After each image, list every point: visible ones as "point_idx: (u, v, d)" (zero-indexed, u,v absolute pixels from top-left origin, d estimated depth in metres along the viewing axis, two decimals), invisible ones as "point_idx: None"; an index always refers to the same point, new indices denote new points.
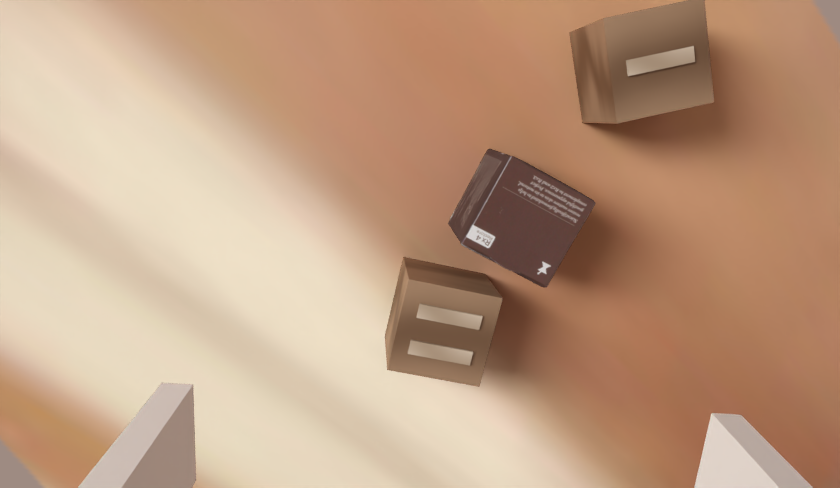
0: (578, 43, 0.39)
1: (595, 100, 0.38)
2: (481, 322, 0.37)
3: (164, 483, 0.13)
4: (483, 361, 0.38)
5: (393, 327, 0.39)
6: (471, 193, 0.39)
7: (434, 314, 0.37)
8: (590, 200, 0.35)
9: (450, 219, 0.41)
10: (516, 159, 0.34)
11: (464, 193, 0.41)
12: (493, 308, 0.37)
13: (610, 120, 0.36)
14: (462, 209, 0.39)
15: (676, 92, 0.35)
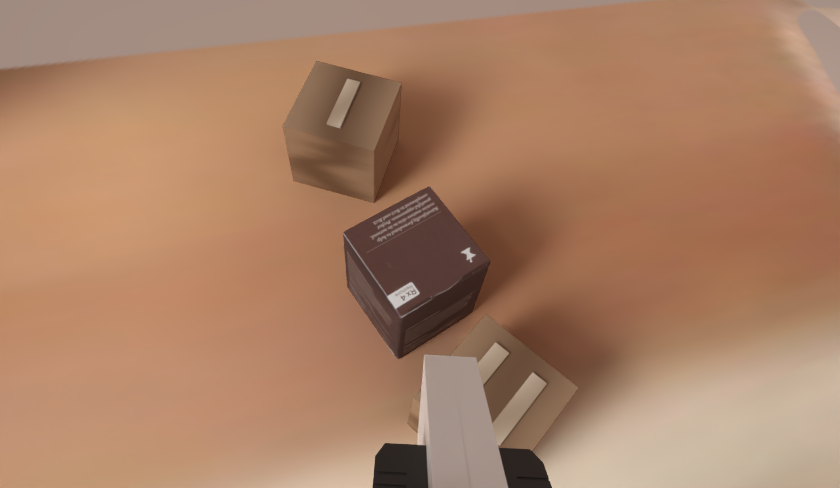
0: (303, 172, 0.41)
1: (353, 172, 0.40)
2: (502, 347, 0.31)
3: None
4: (549, 368, 0.31)
5: None
6: (371, 308, 0.35)
7: None
8: (424, 189, 0.34)
9: (393, 352, 0.36)
10: (348, 230, 0.33)
11: (375, 325, 0.37)
12: (492, 328, 0.32)
13: (371, 158, 0.38)
14: (382, 324, 0.35)
15: (376, 102, 0.39)
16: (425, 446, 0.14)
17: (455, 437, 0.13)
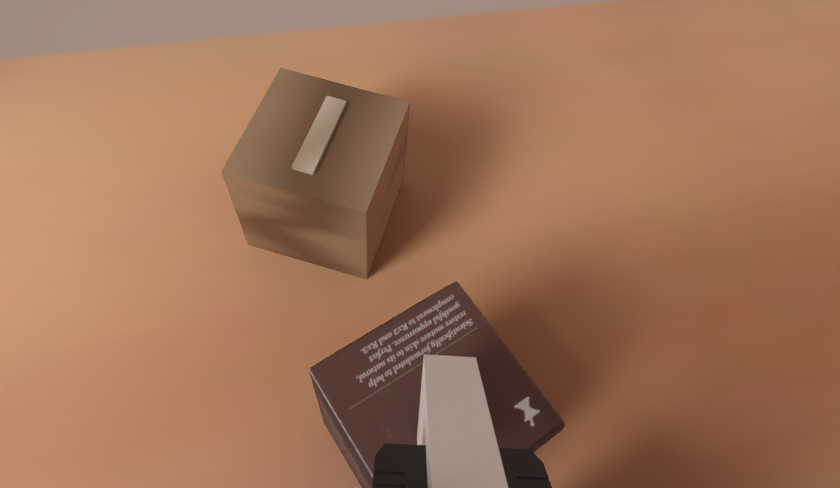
0: (260, 234, 0.27)
1: (335, 240, 0.26)
2: None
3: None
4: None
5: None
6: (359, 477, 0.21)
7: None
8: (449, 286, 0.21)
9: None
10: (319, 364, 0.19)
11: None
12: None
13: (361, 223, 0.24)
14: None
15: (370, 133, 0.25)
16: (425, 445, 0.14)
17: (455, 437, 0.13)
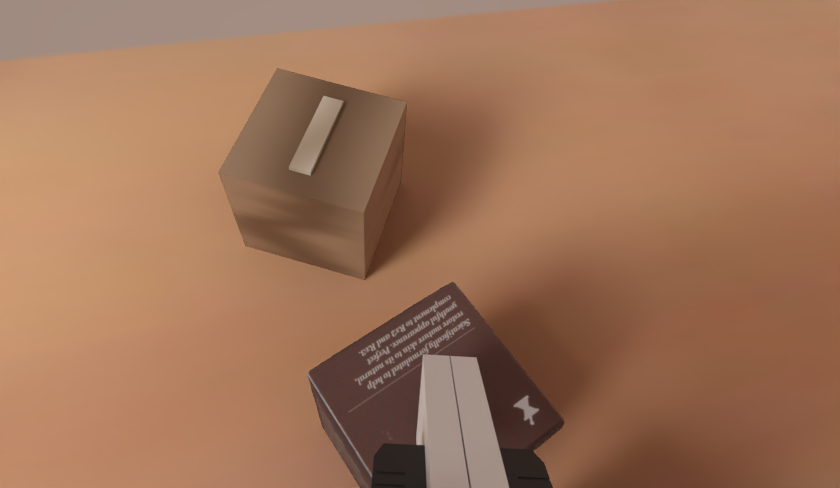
0: (257, 235, 0.27)
1: (333, 240, 0.26)
2: None
3: None
4: None
5: None
6: (359, 481, 0.21)
7: None
8: (445, 287, 0.20)
9: None
10: (317, 367, 0.19)
11: None
12: None
13: (359, 223, 0.24)
14: None
15: (367, 133, 0.25)
16: (424, 445, 0.14)
17: (456, 437, 0.13)
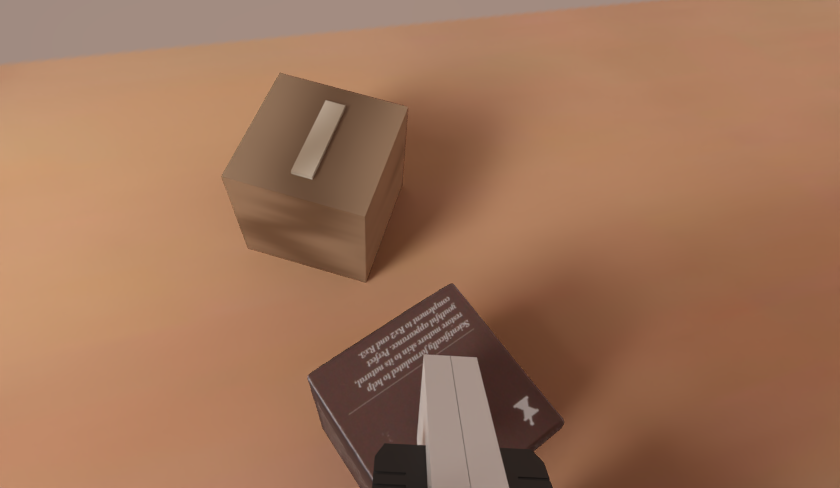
0: (260, 238, 0.28)
1: (334, 244, 0.26)
2: None
3: None
4: None
5: None
6: (360, 482, 0.21)
7: None
8: (444, 288, 0.21)
9: None
10: (317, 370, 0.19)
11: None
12: None
13: (360, 227, 0.24)
14: None
15: (369, 137, 0.25)
16: (425, 446, 0.14)
17: (456, 437, 0.13)
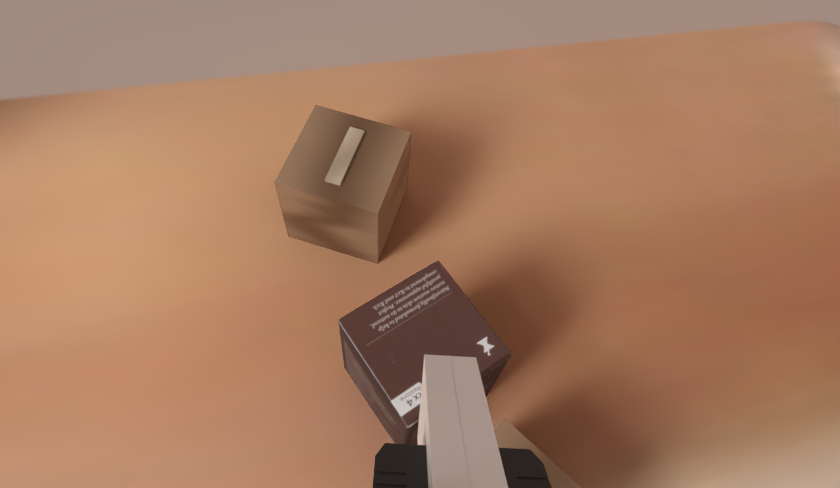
0: (298, 228, 0.37)
1: (354, 233, 0.35)
2: None
3: None
4: None
5: None
6: (372, 400, 0.30)
7: None
8: (433, 264, 0.29)
9: None
10: (344, 317, 0.28)
11: (376, 415, 0.32)
12: (512, 437, 0.27)
13: (374, 221, 0.33)
14: (385, 420, 0.30)
15: (381, 155, 0.34)
16: (425, 445, 0.14)
17: (455, 437, 0.13)
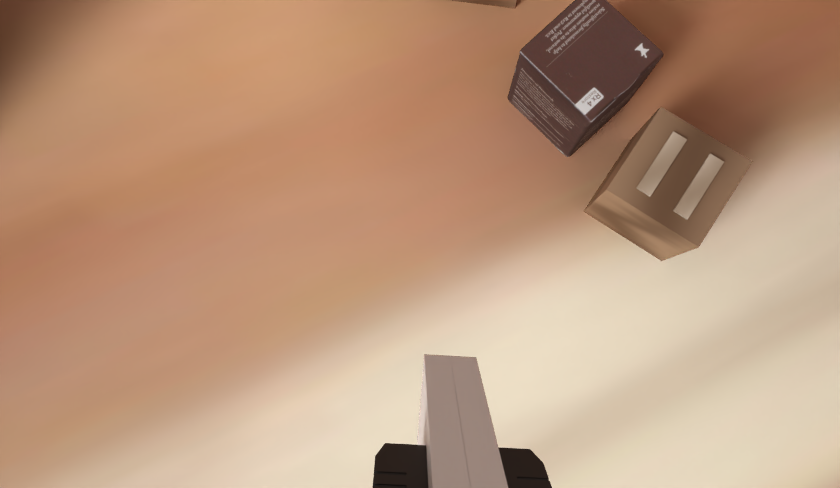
0: None
1: None
2: (680, 135, 0.35)
3: None
4: (724, 147, 0.34)
5: (653, 232, 0.36)
6: (544, 116, 0.38)
7: (653, 177, 0.34)
8: None
9: (564, 152, 0.40)
10: (524, 47, 0.34)
11: (542, 131, 0.41)
12: (668, 118, 0.35)
13: None
14: (557, 129, 0.38)
15: None
16: (425, 445, 0.14)
17: (455, 437, 0.13)
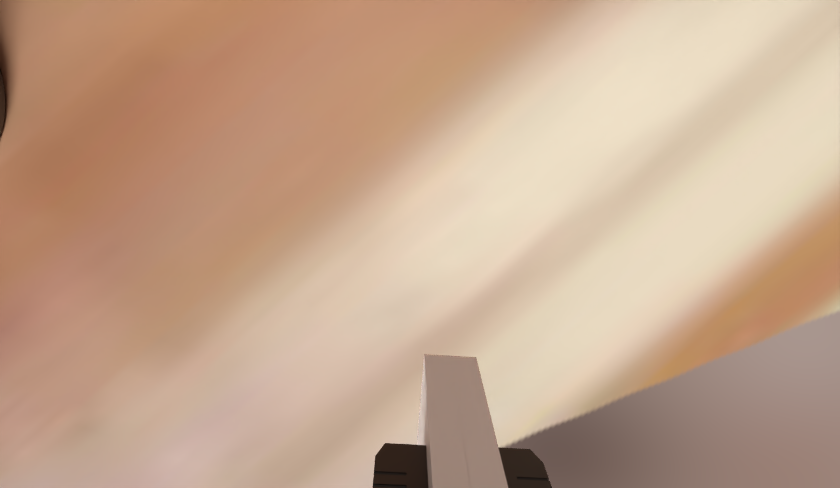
0: None
1: None
2: None
3: None
4: None
5: None
6: None
7: None
8: None
9: None
10: None
11: None
12: None
13: None
14: None
15: None
16: (425, 445, 0.14)
17: (455, 437, 0.13)
